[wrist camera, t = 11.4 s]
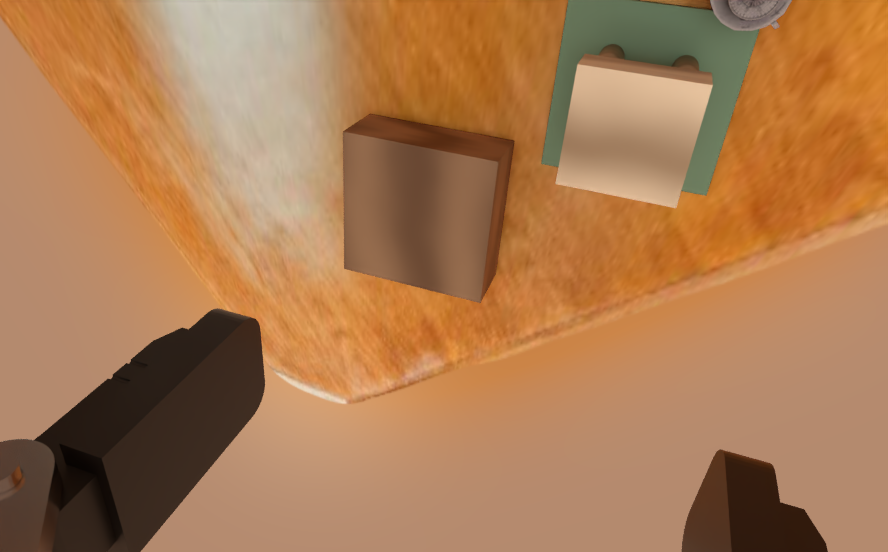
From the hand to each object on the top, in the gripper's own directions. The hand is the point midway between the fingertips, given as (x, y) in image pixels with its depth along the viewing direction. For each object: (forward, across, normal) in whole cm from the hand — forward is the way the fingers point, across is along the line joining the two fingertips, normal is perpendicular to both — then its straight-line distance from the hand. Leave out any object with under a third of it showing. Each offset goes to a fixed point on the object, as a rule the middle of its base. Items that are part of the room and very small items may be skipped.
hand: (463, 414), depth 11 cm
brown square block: (+31, +10, +11) cm, 34 cm away
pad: (+31, -2, +2) cm, 31 cm away
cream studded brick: (+30, -2, +2) cm, 30 cm away
